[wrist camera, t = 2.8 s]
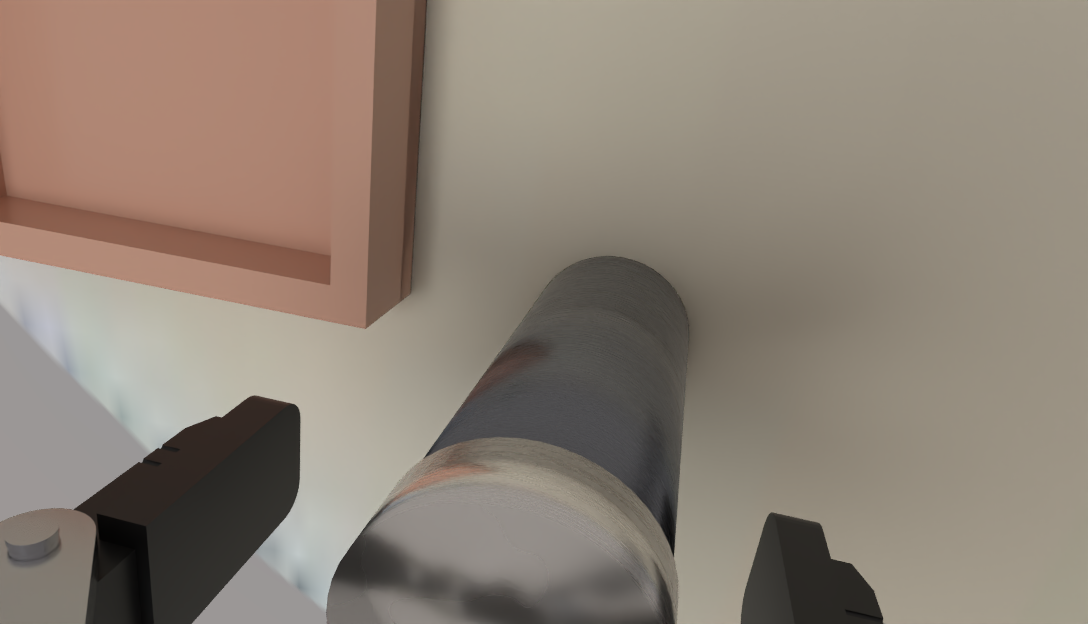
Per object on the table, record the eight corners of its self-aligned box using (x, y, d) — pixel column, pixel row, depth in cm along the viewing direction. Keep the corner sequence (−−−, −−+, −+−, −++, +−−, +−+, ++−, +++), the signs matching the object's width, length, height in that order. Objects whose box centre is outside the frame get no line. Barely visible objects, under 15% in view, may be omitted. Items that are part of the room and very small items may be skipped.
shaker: (707, 268, 19) (707, 555, 8) (675, 419, 21) (639, 831, 10) (540, 239, 20) (328, 465, 9) (522, 387, 21) (324, 736, 10)
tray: (436, -181, 17) (383, -229, 14) (410, 293, 21) (365, 328, 18) (-59, -221, 19) (-189, -269, 16) (7, 216, 23) (-87, 237, 21)
